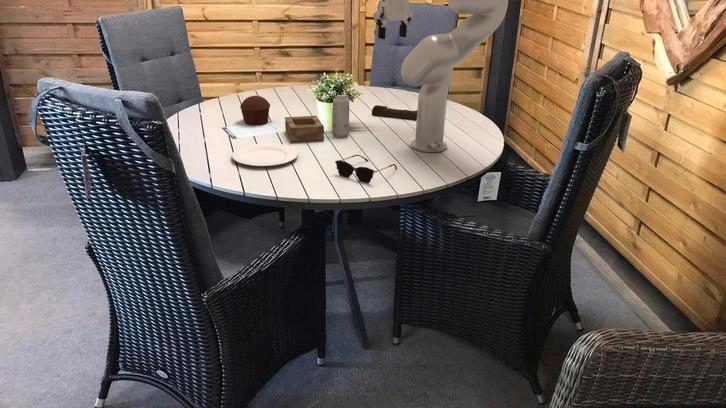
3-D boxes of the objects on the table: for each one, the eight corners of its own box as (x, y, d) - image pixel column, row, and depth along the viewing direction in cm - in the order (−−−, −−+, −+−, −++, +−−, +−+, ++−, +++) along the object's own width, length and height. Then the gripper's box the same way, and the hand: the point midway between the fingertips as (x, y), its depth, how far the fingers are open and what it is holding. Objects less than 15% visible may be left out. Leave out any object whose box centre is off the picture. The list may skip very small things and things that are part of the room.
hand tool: (418, 119, 219) (419, 108, 217) (416, 121, 215) (416, 110, 213) (373, 114, 224) (374, 103, 222) (370, 116, 220) (371, 105, 218)
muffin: (261, 128, 201) (260, 102, 196) (235, 125, 204) (233, 98, 200) (276, 120, 211) (275, 95, 207) (251, 117, 214) (249, 92, 210)
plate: (234, 173, 161) (234, 167, 160) (229, 150, 179) (229, 145, 178) (303, 168, 166) (303, 162, 165) (292, 146, 184) (292, 141, 183)
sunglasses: (334, 175, 162) (335, 159, 160) (363, 163, 174) (364, 148, 172) (372, 186, 155) (374, 170, 153) (400, 173, 167) (402, 158, 166)
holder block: (323, 141, 189) (323, 126, 187) (291, 143, 186) (290, 128, 184) (316, 130, 201) (316, 115, 198) (285, 131, 198) (285, 117, 195)
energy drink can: (348, 138, 193) (349, 97, 186) (331, 138, 193) (331, 96, 186) (349, 133, 198) (349, 92, 192) (332, 132, 198) (332, 92, 192)
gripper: (382, -14, 175) (380, 41, 183) (421, -14, 185) (417, 37, 193) (368, -15, 181) (366, 38, 188) (406, -16, 190) (403, 34, 198)
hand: (392, 37), depth 190 cm, fingers open, 9 cm apart
